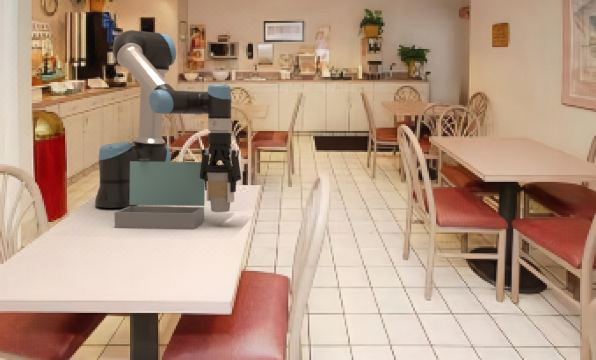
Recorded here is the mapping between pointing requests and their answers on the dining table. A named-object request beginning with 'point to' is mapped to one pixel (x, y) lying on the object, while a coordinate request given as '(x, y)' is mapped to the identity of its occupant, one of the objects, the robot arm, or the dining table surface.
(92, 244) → the dining table surface
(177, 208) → the grey shallow open piece
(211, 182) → the coffee cup
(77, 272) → the dining table surface
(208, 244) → the dining table surface
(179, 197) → the cover
